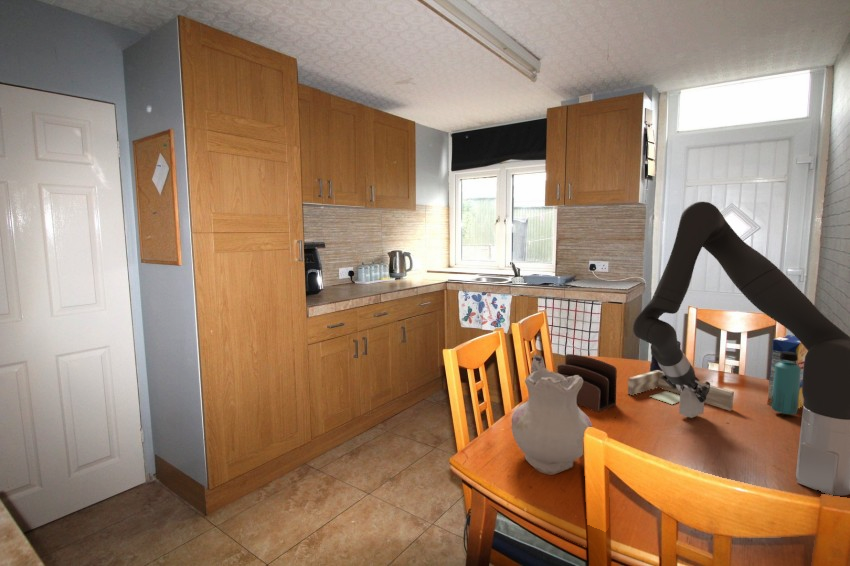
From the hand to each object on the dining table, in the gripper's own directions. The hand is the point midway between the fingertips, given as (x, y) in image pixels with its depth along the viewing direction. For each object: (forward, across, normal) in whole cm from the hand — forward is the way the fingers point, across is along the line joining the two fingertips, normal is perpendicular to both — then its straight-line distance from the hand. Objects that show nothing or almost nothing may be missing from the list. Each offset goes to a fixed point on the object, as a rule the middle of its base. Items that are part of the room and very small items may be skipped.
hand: (695, 397), depth 133 cm
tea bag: (+2, 0, +5) cm, 5 cm away
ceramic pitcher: (-36, +6, +45) cm, 58 cm away
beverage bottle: (+22, -14, -13) cm, 29 cm away
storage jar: (+21, +24, -13) cm, 35 cm away
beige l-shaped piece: (+9, +9, -1) cm, 13 cm away
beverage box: (+29, -11, -21) cm, 37 cm away
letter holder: (-9, +27, +18) cm, 34 cm away
